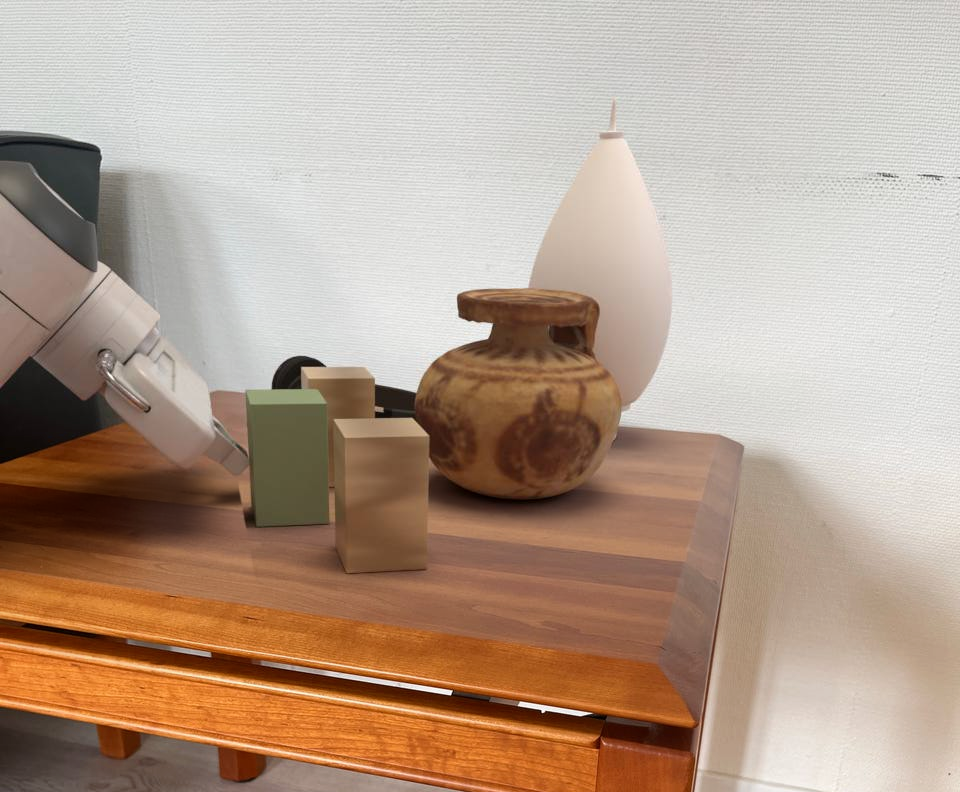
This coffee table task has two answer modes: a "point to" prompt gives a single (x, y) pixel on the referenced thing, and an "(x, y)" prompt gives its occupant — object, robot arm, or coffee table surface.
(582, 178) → the lamp
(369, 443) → the maple block near
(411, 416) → the headphones
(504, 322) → the clay pot
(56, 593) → the coffee table surface
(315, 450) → the green block
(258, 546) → the coffee table surface
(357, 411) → the maple block far
